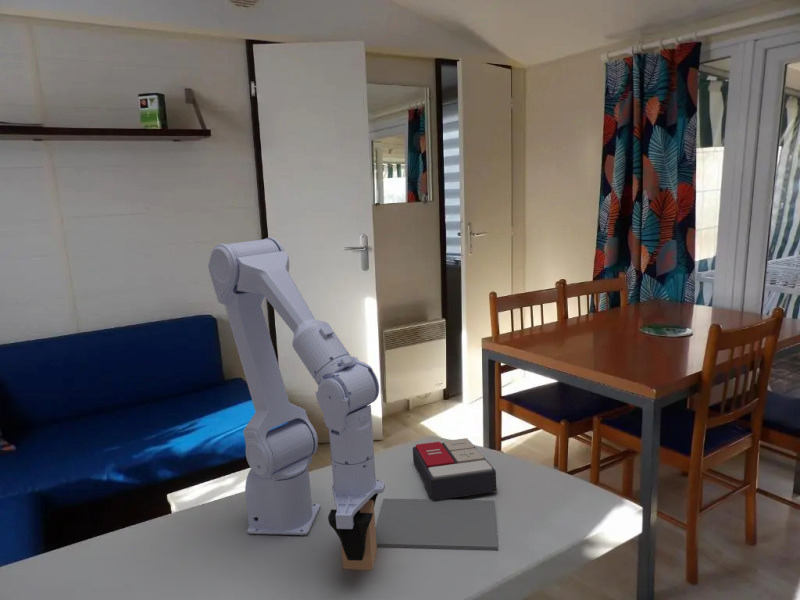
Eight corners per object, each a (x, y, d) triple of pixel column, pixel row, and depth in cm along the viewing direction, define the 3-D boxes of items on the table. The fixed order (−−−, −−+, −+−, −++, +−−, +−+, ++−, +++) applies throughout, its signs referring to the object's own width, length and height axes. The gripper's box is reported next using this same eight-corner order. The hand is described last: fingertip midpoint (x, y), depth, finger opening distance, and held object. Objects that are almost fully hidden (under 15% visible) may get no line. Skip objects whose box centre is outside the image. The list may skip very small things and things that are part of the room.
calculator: (468, 435, 109) (496, 466, 94) (469, 457, 109) (497, 491, 95) (411, 442, 107) (430, 475, 92) (413, 465, 107) (432, 501, 93)
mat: (371, 546, 83) (371, 543, 83) (383, 501, 95) (383, 498, 95) (498, 550, 81) (497, 546, 81) (494, 503, 92) (494, 500, 92)
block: (343, 569, 79) (339, 515, 77) (349, 550, 82) (345, 499, 81) (372, 570, 78) (368, 516, 76) (377, 551, 82) (373, 500, 80)
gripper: (373, 482, 70) (379, 582, 72) (389, 431, 84) (394, 516, 86) (316, 482, 70) (324, 580, 73) (342, 431, 85) (348, 515, 87)
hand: (359, 545), depth 80 cm, fingers open, 5 cm apart
